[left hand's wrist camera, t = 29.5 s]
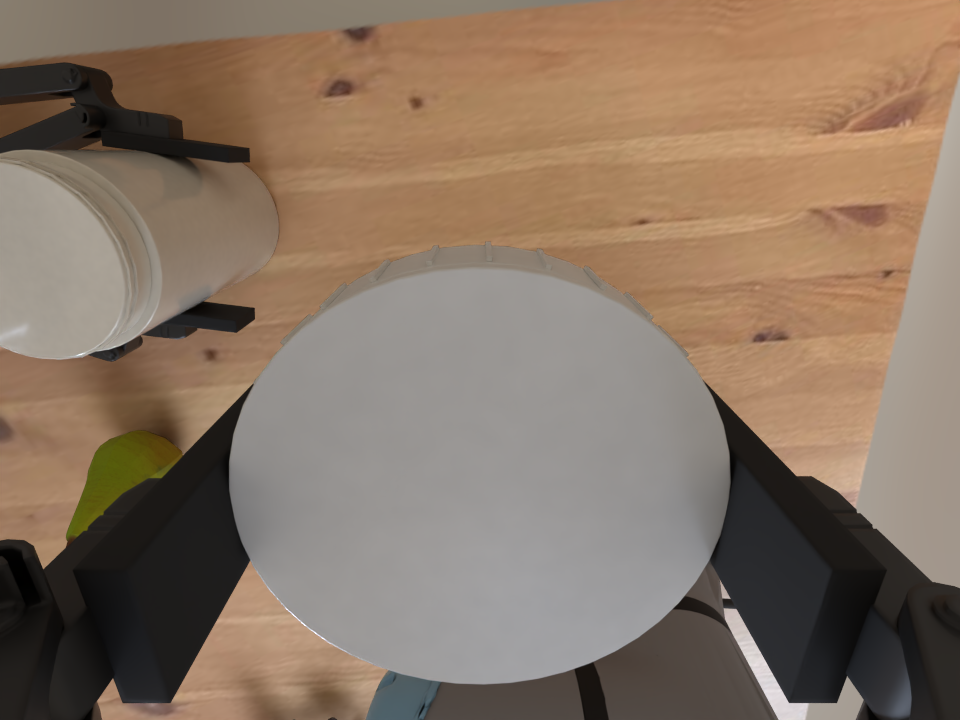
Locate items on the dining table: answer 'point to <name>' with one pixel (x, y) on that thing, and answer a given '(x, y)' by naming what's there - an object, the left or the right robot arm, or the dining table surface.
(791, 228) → the dining table surface
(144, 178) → the jar
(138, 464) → the fruit
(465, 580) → the lid
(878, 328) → the dining table surface
